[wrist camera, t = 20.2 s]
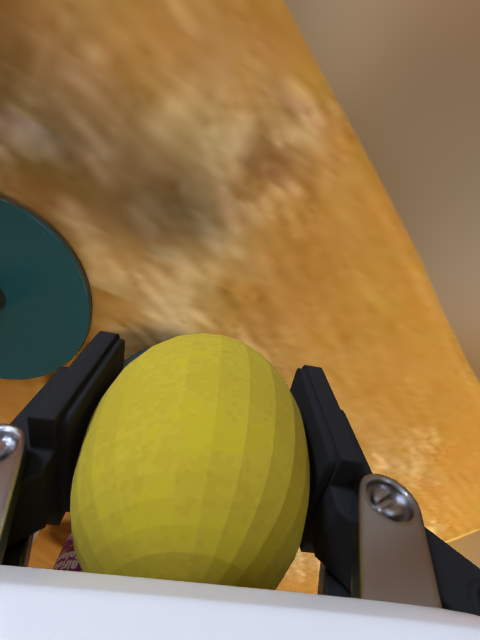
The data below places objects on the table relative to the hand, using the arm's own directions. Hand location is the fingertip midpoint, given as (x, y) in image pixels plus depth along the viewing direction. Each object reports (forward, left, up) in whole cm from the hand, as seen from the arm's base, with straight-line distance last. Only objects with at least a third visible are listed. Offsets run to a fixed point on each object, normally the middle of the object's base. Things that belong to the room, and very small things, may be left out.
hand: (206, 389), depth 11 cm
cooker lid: (+5, -17, -15) cm, 24 cm away
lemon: (0, 0, -2) cm, 2 cm away
